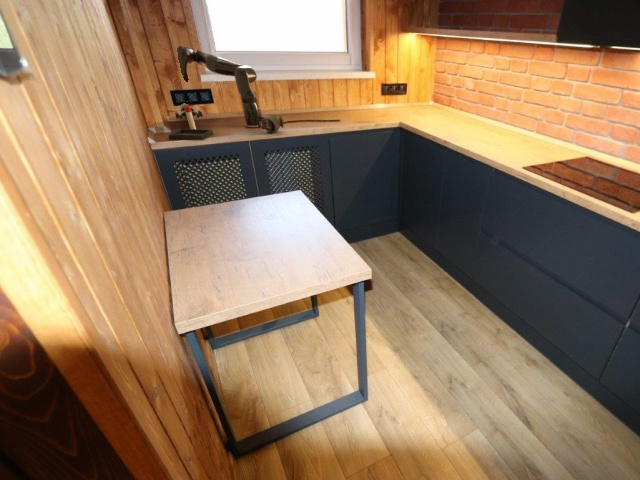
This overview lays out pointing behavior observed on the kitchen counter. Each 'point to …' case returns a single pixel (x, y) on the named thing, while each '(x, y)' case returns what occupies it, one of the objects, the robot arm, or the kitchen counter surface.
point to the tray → (191, 134)
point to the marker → (190, 117)
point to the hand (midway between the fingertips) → (189, 116)
